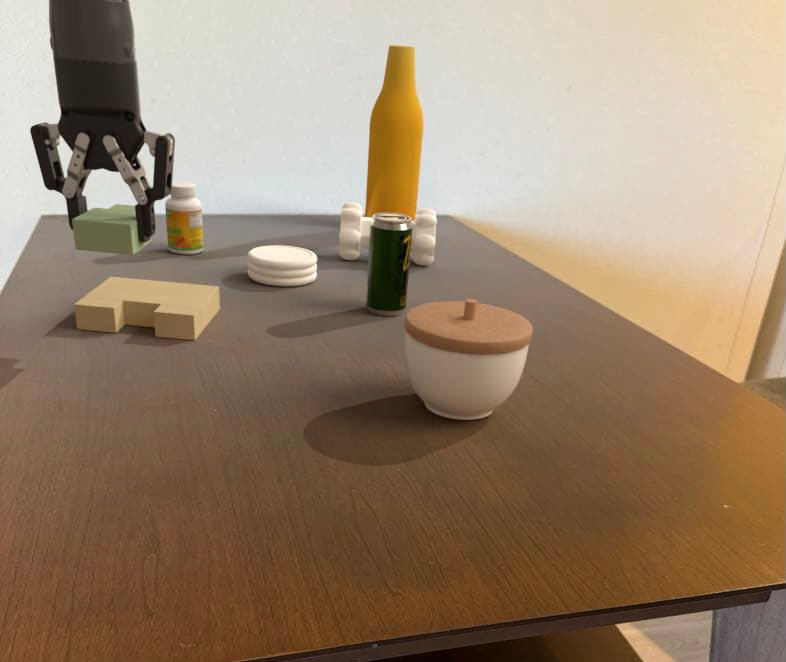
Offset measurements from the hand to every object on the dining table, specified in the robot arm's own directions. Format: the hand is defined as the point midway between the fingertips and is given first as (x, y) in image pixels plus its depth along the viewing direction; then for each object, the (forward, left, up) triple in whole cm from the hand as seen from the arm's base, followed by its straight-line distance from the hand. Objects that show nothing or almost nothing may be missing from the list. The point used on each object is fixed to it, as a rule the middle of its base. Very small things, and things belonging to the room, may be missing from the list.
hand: (113, 237), depth 89 cm
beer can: (+28, +23, -12) cm, 38 cm away
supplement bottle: (-5, +44, -12) cm, 46 cm away
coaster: (+12, +34, -12) cm, 38 cm away
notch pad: (0, +11, -12) cm, 16 cm away
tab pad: (0, +1, -1) cm, 2 cm away
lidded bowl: (+38, -7, -12) cm, 40 cm away
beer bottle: (+25, +70, -12) cm, 75 cm away
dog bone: (+26, +49, -12) cm, 56 cm away
